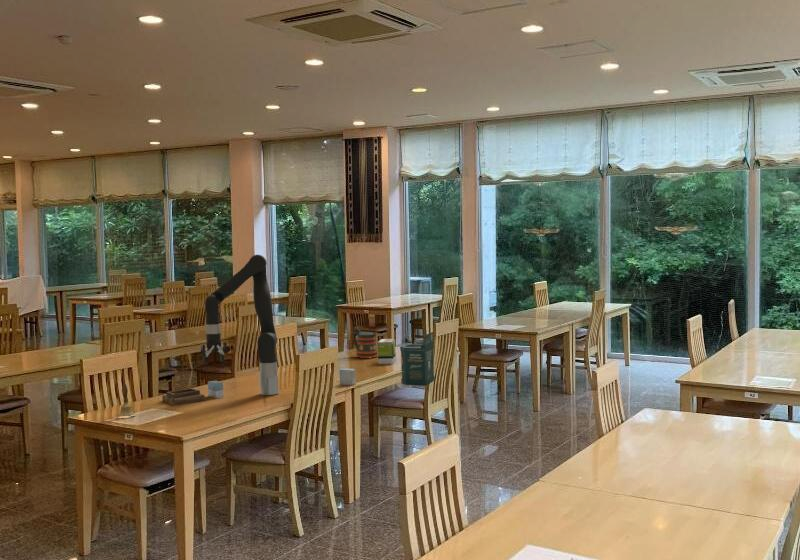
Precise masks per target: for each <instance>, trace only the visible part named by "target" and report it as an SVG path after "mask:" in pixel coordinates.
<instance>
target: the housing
mask: <svg viewBox="0 0 800 560" xmlns="http://www.w3.org/2000/svg"><path fill="white" fill-rule="evenodd" d="M207 396H208V397H210V398H212V399H213V398H214V399H222V398H224V397H225V396H224V382H223V381H218V380H209V381H207Z"/></svg>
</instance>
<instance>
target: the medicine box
mask: <svg viewBox="0 0 800 560" xmlns="http://www.w3.org/2000/svg"><path fill="white" fill-rule="evenodd" d="M339 384H340V386H354V385H356V369H355V368H340V369H339Z"/></svg>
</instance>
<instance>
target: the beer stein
mask: <svg viewBox="0 0 800 560" xmlns="http://www.w3.org/2000/svg"><path fill="white" fill-rule="evenodd" d="M352 334H353V337H352V339H353V343H354V345H355V349H356V358H357V357H360V358H359V359H362V358H369V357H376V356H377V357H378V348H377V340H376V333H374V332H372V331H371V332H370V331H361V330H360V329H359V328H358V327H354V331H352ZM356 337H357V339H356ZM377 357H376V358H377ZM369 359H370V358H369Z"/></svg>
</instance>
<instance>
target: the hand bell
mask: <svg viewBox="0 0 800 560" xmlns="http://www.w3.org/2000/svg"><path fill="white" fill-rule="evenodd" d="M128 390H129V389H128V386H127V384H126V383H122V388H121V394H122V397H123V404H122V405H121V406H120V412H119V414H118V416H131V415H134V414H135V413H134V412H133V410H132V406H131V404H128V392H129V391H128Z"/></svg>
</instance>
